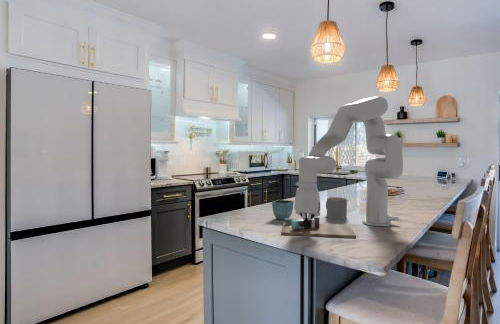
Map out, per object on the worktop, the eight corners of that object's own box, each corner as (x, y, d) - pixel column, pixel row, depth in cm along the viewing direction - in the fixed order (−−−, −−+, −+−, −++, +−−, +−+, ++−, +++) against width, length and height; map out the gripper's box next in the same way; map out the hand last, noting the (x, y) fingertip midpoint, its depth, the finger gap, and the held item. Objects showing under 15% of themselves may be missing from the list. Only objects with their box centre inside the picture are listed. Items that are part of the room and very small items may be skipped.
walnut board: (349, 227, 145) (349, 215, 144) (356, 238, 127) (356, 225, 127) (283, 224, 149) (283, 213, 149) (281, 234, 132) (281, 222, 131)
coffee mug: (350, 219, 160) (350, 199, 160) (332, 220, 158) (332, 200, 158) (337, 213, 174) (337, 195, 173) (320, 214, 171) (321, 196, 171)
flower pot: (271, 219, 159) (271, 202, 159) (278, 216, 167) (278, 199, 167) (287, 221, 155) (287, 203, 155) (293, 218, 163) (293, 200, 163)
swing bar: (294, 229, 134) (294, 221, 134) (291, 228, 137) (291, 220, 136) (314, 227, 138) (314, 219, 138) (311, 226, 140) (311, 218, 140)
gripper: (287, 185, 134) (287, 228, 135) (321, 188, 126) (321, 233, 127) (295, 183, 140) (294, 224, 141) (327, 185, 132) (327, 229, 133)
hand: (307, 228), depth 134 cm, fingers closed
